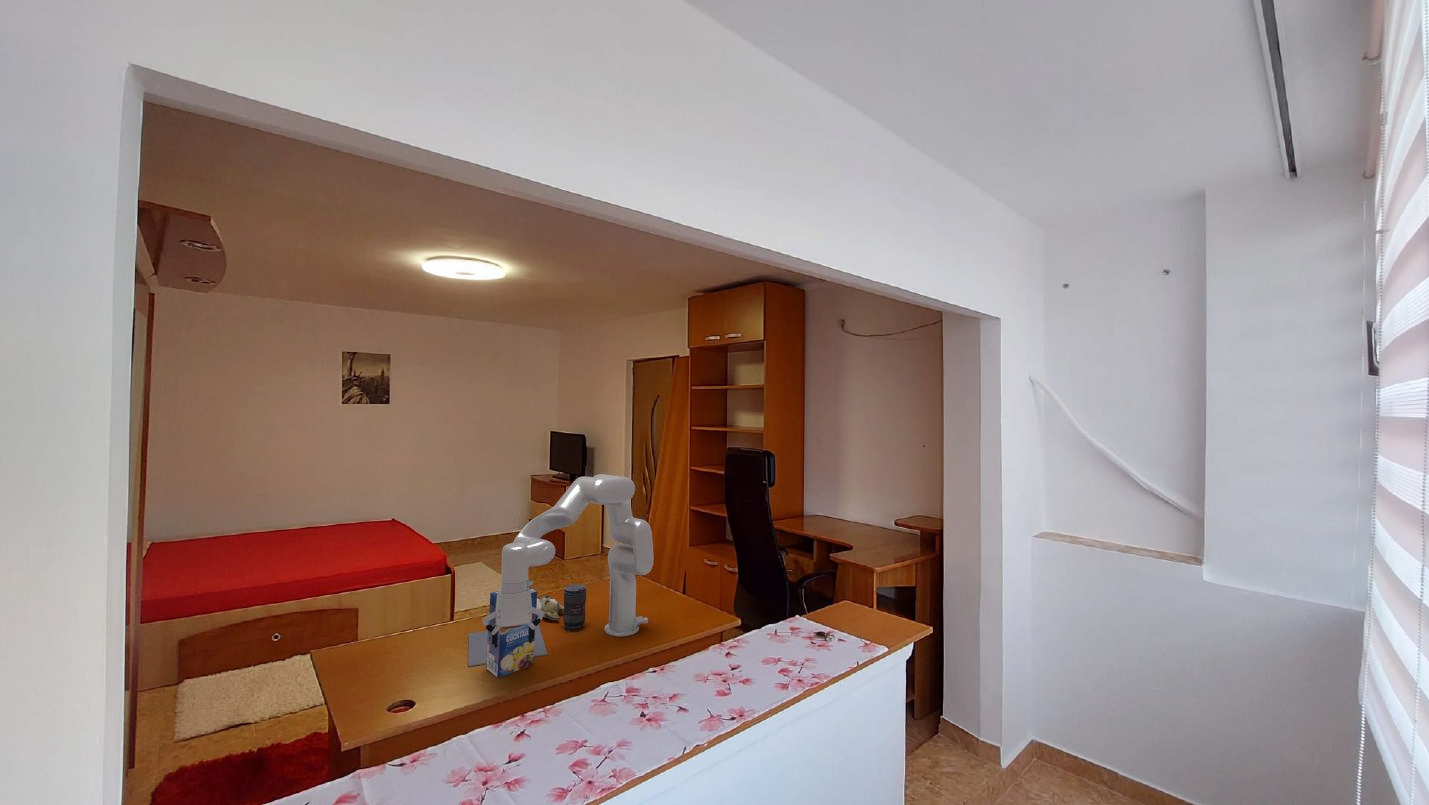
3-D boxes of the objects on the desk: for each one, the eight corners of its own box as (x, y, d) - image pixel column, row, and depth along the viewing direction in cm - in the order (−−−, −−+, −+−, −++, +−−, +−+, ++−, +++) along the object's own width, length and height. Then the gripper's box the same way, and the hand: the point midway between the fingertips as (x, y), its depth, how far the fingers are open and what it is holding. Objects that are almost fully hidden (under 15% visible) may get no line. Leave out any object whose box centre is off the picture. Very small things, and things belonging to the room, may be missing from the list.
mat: (538, 625, 211) (538, 624, 211) (547, 655, 187) (547, 654, 187) (468, 634, 201) (468, 633, 201) (468, 667, 177) (468, 665, 177)
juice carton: (497, 678, 171) (502, 600, 170) (485, 668, 176) (490, 593, 174) (533, 664, 180) (537, 591, 179) (520, 655, 185) (525, 584, 183)
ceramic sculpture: (537, 588, 225) (572, 594, 222) (535, 610, 225) (571, 615, 223) (524, 598, 214) (561, 603, 212) (522, 620, 215) (559, 626, 212)
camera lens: (589, 625, 212) (590, 585, 212) (577, 633, 204) (578, 592, 204) (571, 622, 214) (572, 582, 214) (558, 630, 207) (559, 589, 207)
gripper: (543, 579, 173) (542, 634, 174) (482, 585, 167) (481, 643, 167) (546, 587, 167) (545, 644, 167) (483, 593, 160) (481, 653, 160)
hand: (513, 643), depth 167 cm, fingers open, 9 cm apart
